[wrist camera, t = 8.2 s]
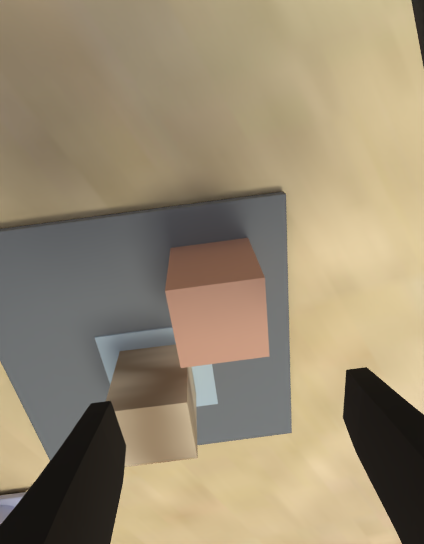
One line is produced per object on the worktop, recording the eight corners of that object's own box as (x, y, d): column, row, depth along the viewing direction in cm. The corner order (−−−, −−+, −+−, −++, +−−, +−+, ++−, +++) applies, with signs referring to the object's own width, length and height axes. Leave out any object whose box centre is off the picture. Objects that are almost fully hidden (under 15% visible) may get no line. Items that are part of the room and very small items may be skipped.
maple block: (133, 400, 22) (121, 467, 18) (119, 351, 20) (102, 412, 16) (196, 393, 22) (197, 457, 18) (187, 342, 20) (186, 402, 16)
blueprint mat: (54, 457, 25) (51, 465, 24) (-54, 236, 17) (-62, 240, 17) (289, 426, 25) (291, 434, 24) (283, 191, 17) (286, 194, 17)
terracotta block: (182, 313, 20) (180, 368, 16) (170, 247, 18) (164, 290, 14) (253, 303, 20) (269, 356, 16) (247, 237, 18) (264, 277, 14)
